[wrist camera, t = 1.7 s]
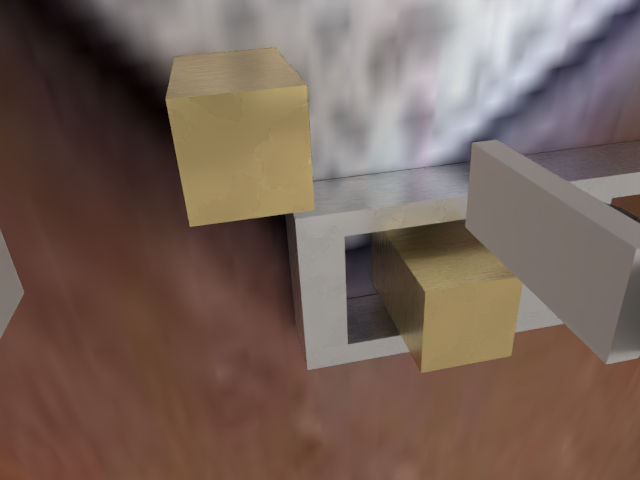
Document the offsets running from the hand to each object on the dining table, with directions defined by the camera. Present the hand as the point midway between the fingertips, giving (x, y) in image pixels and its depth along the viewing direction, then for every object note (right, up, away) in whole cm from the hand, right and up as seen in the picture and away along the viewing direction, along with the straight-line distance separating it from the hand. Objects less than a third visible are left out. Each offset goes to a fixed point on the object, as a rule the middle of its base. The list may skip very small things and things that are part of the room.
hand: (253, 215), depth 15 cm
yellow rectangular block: (-2, +6, +10) cm, 12 cm away
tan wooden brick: (+7, -1, +16) cm, 17 cm away
